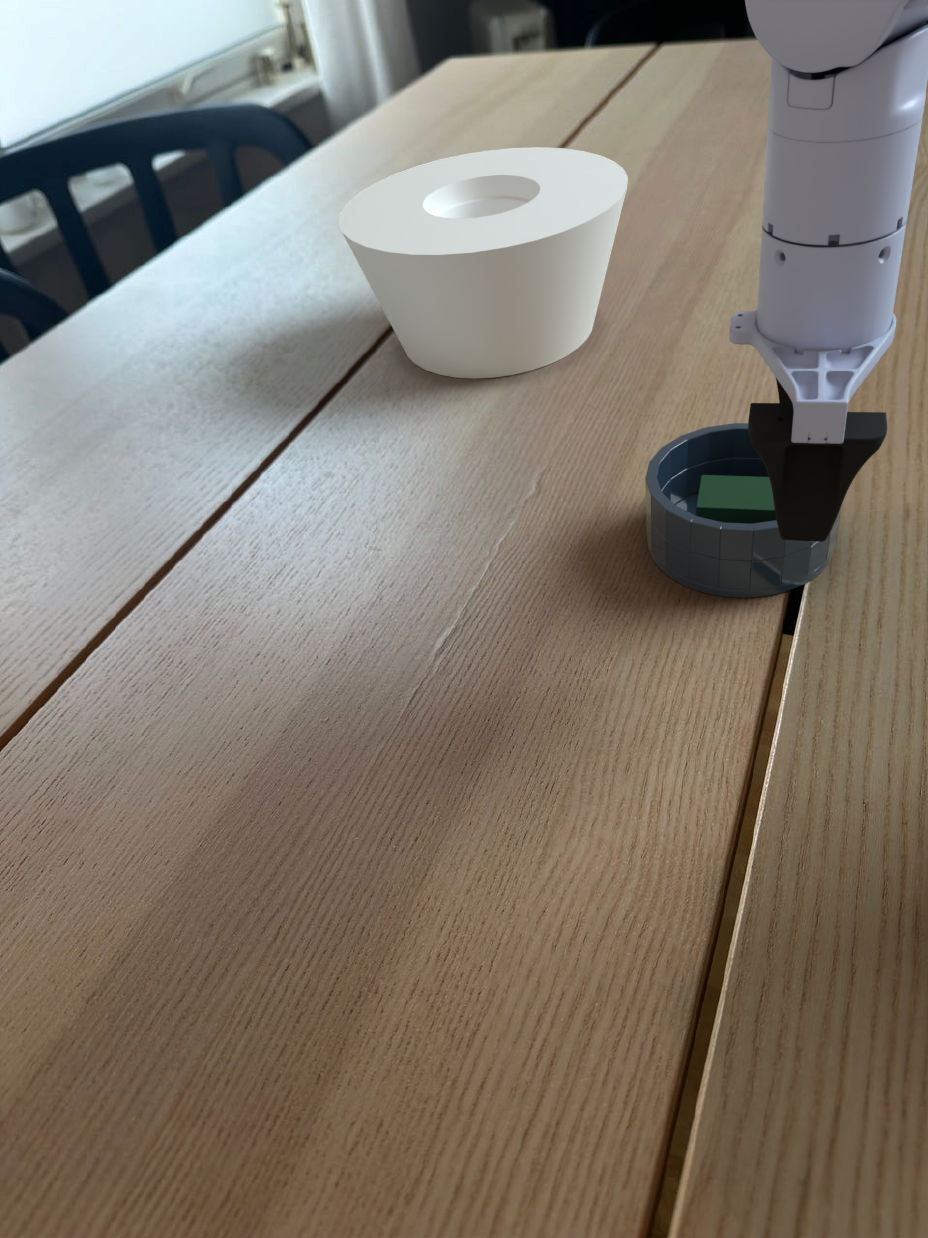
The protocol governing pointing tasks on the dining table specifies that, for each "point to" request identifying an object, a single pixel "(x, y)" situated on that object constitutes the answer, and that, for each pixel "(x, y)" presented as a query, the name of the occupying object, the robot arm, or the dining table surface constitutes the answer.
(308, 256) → the dining table surface
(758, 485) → the green rectangular block
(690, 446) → the basin
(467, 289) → the white tapered cylinder
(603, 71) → the dining table surface
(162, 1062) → the dining table surface
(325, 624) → the dining table surface
